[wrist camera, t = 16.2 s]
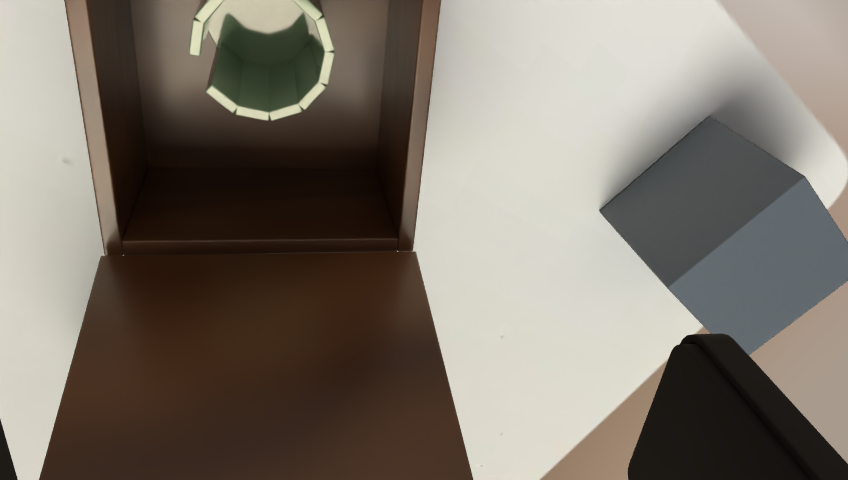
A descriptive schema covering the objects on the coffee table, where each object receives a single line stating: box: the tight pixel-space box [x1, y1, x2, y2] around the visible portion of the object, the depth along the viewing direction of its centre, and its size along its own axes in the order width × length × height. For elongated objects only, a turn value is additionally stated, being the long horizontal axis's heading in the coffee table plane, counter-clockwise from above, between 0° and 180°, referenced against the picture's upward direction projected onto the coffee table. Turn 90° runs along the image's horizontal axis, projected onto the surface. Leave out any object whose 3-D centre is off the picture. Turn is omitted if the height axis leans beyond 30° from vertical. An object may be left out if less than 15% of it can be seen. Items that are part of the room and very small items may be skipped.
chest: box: [64, 0, 441, 256], centre depth 27 cm, size 13×12×8 cm
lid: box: [39, 252, 473, 480], centre depth 23 cm, size 14×12×4 cm
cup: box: [189, 0, 335, 121], centre depth 27 cm, size 5×5×6 cm
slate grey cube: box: [600, 117, 848, 355], centre depth 37 cm, size 8×8×8 cm
